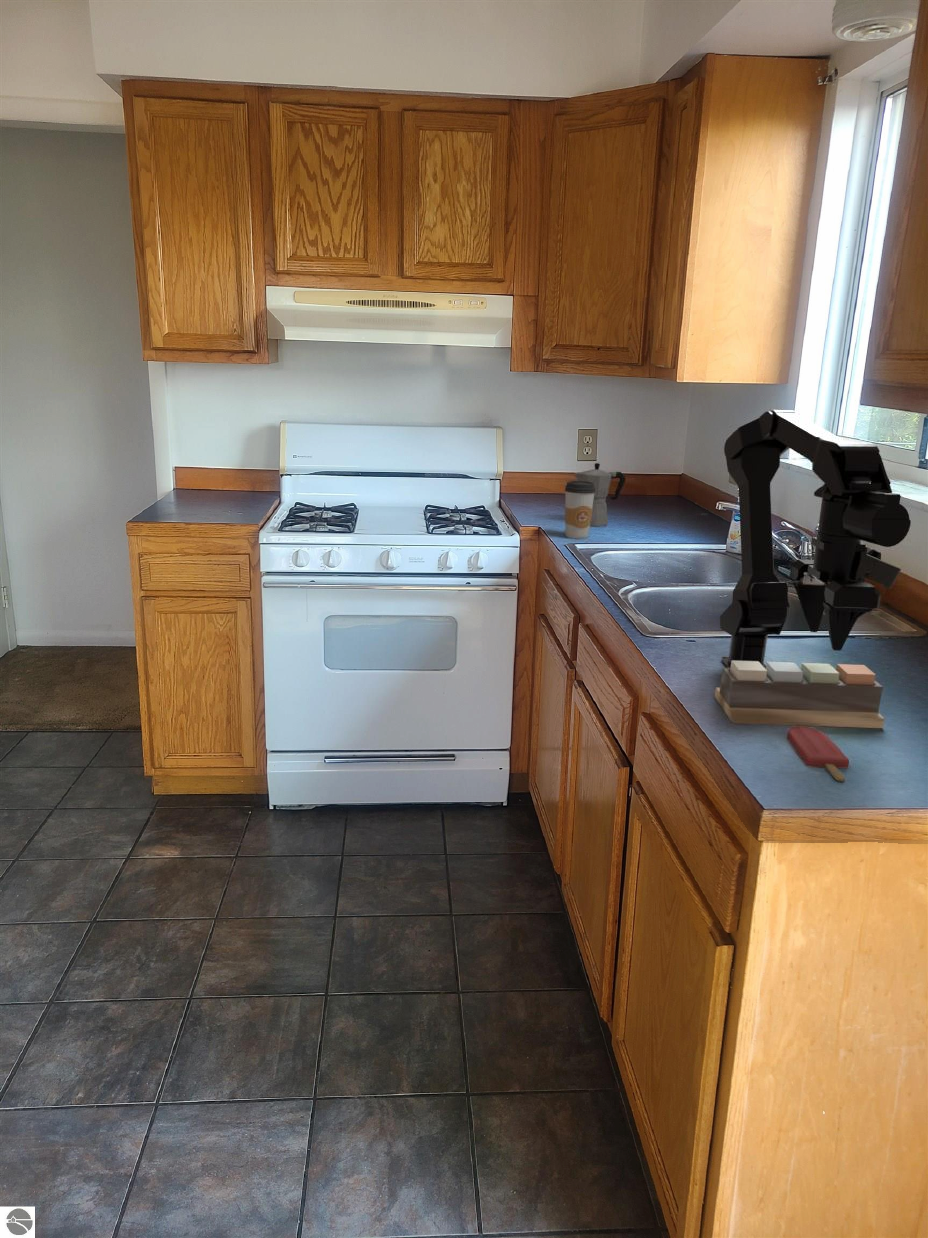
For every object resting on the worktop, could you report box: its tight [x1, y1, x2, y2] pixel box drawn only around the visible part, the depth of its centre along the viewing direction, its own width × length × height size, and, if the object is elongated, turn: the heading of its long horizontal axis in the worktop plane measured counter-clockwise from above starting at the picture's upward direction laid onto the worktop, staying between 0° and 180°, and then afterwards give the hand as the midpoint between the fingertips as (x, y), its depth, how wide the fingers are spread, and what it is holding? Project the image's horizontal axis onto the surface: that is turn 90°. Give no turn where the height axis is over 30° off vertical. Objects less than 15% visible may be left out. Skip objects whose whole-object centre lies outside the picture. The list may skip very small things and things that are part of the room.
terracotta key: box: [835, 663, 877, 685], centre depth 132 cm, size 4×4×3 cm
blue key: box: [765, 661, 803, 683], centre depth 132 cm, size 4×4×3 cm
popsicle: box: [786, 725, 850, 782], centre depth 119 cm, size 5×2×15 cm
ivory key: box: [730, 660, 767, 681], centre depth 132 cm, size 4×4×3 cm
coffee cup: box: [564, 480, 595, 540], centre depth 248 cm, size 8×8×15 cm
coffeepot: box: [573, 462, 626, 528], centre depth 266 cm, size 15×9×18 cm, turn 95°
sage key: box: [800, 662, 839, 684], centre depth 132 cm, size 4×4×3 cm
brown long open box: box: [714, 667, 885, 729], centre depth 132 cm, size 10×21×6 cm, turn 89°
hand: (824, 640), depth 130 cm, fingers open, 9 cm apart
